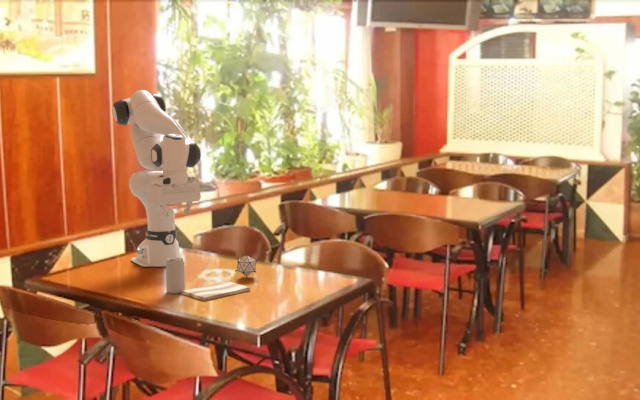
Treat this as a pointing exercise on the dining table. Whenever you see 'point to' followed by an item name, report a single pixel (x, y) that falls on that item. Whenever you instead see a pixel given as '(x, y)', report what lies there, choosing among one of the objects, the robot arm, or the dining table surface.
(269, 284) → the dining table surface
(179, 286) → the beverage can
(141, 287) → the dining table surface
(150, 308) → the dining table surface
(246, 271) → the game die
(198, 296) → the board
